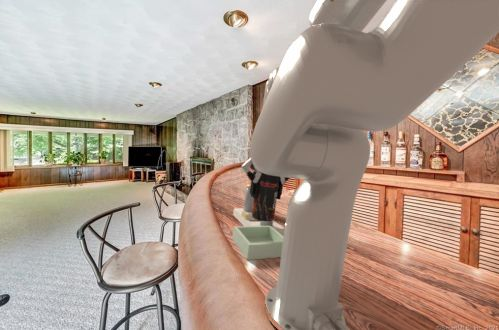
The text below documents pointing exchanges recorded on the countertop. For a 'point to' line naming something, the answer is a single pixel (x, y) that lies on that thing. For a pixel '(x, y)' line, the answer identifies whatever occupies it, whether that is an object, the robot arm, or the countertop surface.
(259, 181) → the deodorant
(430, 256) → the countertop surface
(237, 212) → the fuse block
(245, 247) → the tray
